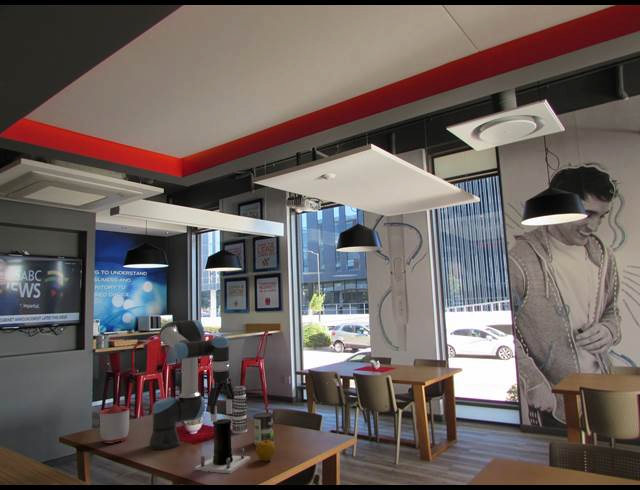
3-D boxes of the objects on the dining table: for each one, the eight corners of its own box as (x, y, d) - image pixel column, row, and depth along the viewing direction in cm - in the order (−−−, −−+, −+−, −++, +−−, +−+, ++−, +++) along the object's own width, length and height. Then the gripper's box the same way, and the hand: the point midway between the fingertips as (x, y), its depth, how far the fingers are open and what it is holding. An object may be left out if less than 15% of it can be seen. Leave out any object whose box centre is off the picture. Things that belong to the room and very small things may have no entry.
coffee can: (276, 439, 246) (275, 412, 248) (270, 445, 236) (269, 417, 238) (257, 439, 248) (257, 412, 250) (251, 445, 238) (250, 417, 240)
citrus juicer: (126, 435, 271) (126, 399, 273) (132, 441, 256) (132, 404, 259) (96, 440, 262) (96, 404, 265) (101, 447, 248) (101, 408, 250)
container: (214, 459, 215) (213, 419, 218) (233, 457, 216) (232, 417, 218) (211, 466, 206) (210, 424, 209) (231, 464, 207) (230, 422, 210)
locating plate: (194, 470, 206) (194, 458, 206) (216, 457, 223) (216, 445, 223) (230, 473, 200) (230, 460, 201) (250, 459, 217) (249, 447, 217)
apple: (258, 465, 208) (258, 444, 209) (253, 459, 217) (252, 439, 218) (278, 461, 212) (277, 440, 213) (272, 455, 220) (271, 436, 221)
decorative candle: (228, 431, 267) (227, 387, 270) (242, 428, 273) (241, 384, 276) (237, 434, 260) (236, 388, 263) (251, 430, 266) (249, 386, 269)
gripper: (213, 374, 203) (214, 425, 201) (241, 366, 227) (242, 411, 225) (198, 374, 206) (199, 424, 204) (227, 366, 229) (228, 410, 227)
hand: (221, 417), depth 214 cm, fingers open, 13 cm apart
